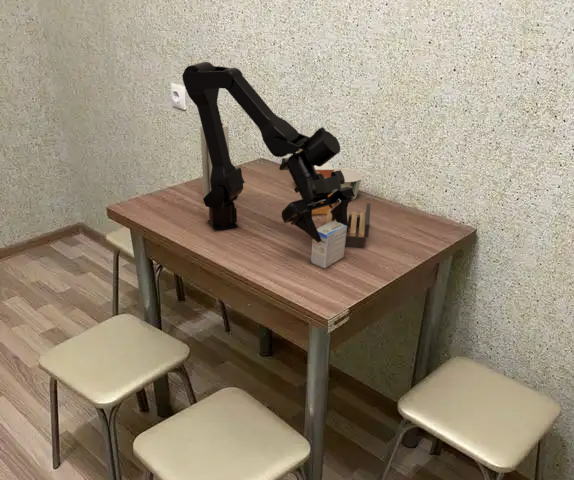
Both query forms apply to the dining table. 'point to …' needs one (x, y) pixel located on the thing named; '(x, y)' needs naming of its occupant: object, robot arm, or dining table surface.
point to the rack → (353, 222)
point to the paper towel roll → (206, 158)
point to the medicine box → (329, 244)
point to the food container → (350, 179)
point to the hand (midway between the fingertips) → (333, 237)
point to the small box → (326, 172)
